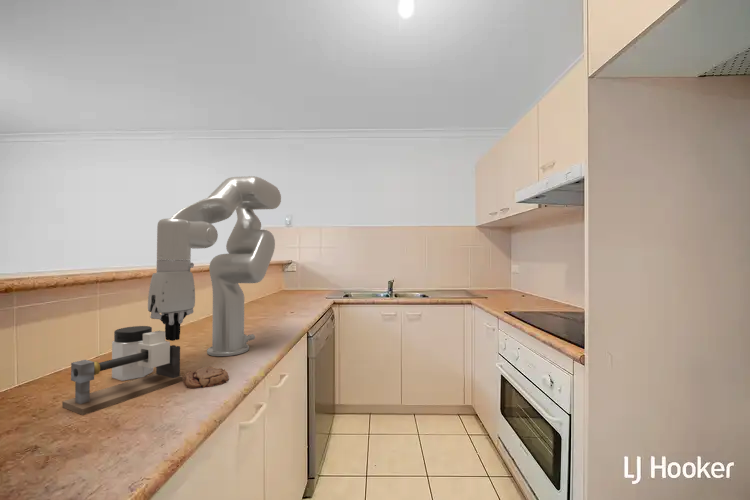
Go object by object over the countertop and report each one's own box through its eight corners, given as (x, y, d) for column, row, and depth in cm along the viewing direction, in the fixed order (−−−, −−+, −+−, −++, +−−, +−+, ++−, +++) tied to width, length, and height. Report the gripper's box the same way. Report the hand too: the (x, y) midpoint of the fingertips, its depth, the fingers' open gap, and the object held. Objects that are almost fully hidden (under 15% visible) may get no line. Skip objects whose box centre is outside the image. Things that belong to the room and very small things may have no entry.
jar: (110, 383, 86) (111, 334, 87) (112, 373, 93) (113, 328, 93) (153, 376, 91) (154, 329, 92) (153, 367, 98) (153, 324, 98)
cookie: (222, 388, 84) (222, 375, 84) (175, 390, 83) (175, 377, 83) (234, 374, 94) (234, 363, 94) (191, 376, 92) (192, 364, 93)
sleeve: (156, 360, 89) (156, 329, 89) (169, 363, 87) (170, 331, 87) (137, 365, 85) (138, 333, 85) (151, 368, 83) (151, 335, 83)
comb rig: (162, 375, 92) (162, 339, 92) (182, 380, 88) (182, 343, 88) (62, 407, 73) (62, 361, 73) (82, 415, 69) (83, 367, 69)
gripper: (190, 266, 99) (189, 332, 98) (134, 267, 85) (132, 344, 85) (209, 267, 95) (208, 335, 95) (153, 268, 82) (152, 348, 82)
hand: (172, 339), depth 90 cm, fingers closed
